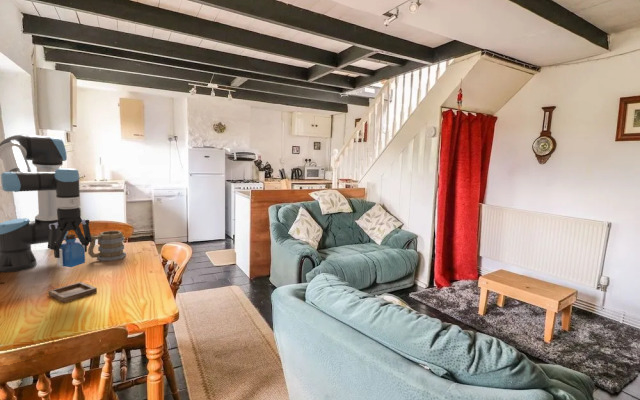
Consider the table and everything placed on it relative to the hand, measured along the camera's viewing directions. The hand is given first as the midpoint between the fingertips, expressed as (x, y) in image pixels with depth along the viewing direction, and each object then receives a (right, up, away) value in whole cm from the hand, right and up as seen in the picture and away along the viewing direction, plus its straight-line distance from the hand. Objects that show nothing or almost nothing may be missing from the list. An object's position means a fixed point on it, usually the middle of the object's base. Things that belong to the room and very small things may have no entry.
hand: (71, 262), depth 135 cm
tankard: (-17, -7, +46) cm, 49 cm away
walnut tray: (-1, -13, +2) cm, 14 cm away
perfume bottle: (0, -1, 0) cm, 1 cm away
